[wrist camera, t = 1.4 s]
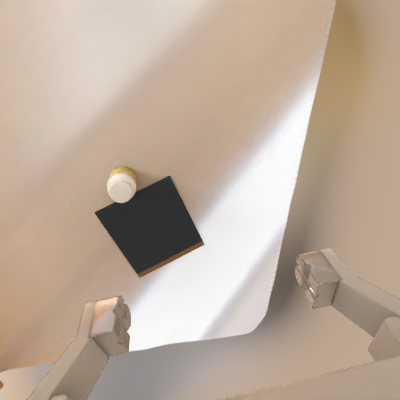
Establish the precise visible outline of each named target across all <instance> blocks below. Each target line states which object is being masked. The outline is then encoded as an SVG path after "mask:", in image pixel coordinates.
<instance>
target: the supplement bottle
mask: <svg viewBox="0 0 400 400" xmlns="http://www.w3.org/2000/svg"><path fill="white" fill-rule="evenodd" d="M106 188H107V192H108V194H109V195H110V197H111V198H112V200H114V201H115V202H118V203H124V202H127V201H128V200H130V199H131V198H132V197H133V196H134V194H135V192H136V176H135V173H134V172H133V171H132V170H131V169H130V168H128V167H125V166H120V167H117V168H115V169H114V170H113V171H112V172H111V173H110V176H109V179H108V182H107V187H106Z"/></svg>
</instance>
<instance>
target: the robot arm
mask: <svg viewBox="0 0 400 400" xmlns="http://www.w3.org/2000/svg"><path fill="white" fill-rule="evenodd" d="M296 261H297V263H298V265H297V266H296V267H295V274H296V278H297V280H298V283H299V284H300V286H301V287H302V288H304V289H305V290H306V297H307V299H308V301H309V302H310V304H311V306H312V308H313V309H315V308H320V307H325V306H330V305H332V307H334V308H335V309H336V310H338V311H339V312H341V313H342V314H343V315H344V316H346V317H347V318H349V319H350V320H351V321H353V322H354V323H355V324H356V325H358V326H359V327H360V328H362V329H363V330H365V331H366V332H367V333H368V334H370V335H371V336H372V337H374V339H373V341H372V342H371V344H370V346H369V349H368V351H369V352H370V354H371V355H372V357H373V359H374V360H375V362H372V363H368V364H363V365H359V366H355V367H351V368H347V369H343V370H339V371H335V372H330V373H326V374H322V375H318V376H314V377H309V378H306V379H301V380H297V381H293V382H289V383H285V384H280V385H276V386H272V387H268V388H264V389H260V390H255V391H252V392H247V393H243V394H239V395H235V396H231V397H226V398H223V399H218V400H400V298H398V297H396V296H394V295H393V294H391V293H389V292H387V291H385V290H383V289H381V288H379V287H377V286H375V285H373V284H372V283H370V282H368V281H366V280H364V279H362V278H360V277H354V276H353V274H352V273H351V272H350V271H349V269H348V268H347V267H346V266H345V264H344V263H343V262H342V261H341V260H340V258H339V257H338V256H337V255H336V253H335V252H334V251H333V250H332V249H331V248H328V249H324V250H320V251H314V252H310V253H306V254H302V255H298V256H297V259H296ZM130 326H131V315H130V310H129V307H128V306H127V305H126V304H124V299H123V297H122V296H116V297H111V298H106V299H102V300H96V301H92V302H87V303H86V304H85V306H84V308H83V312H82V316H81V320H80V324H79V328H78V332H77V336H76V340H75V341H74V342H71V344H70V345H69V346H68V348H67V349H66V350H65V351H64V353H63V354H62V355H61V356H60V358H59V359H58V360H57V362H56V363H55V364H54V365H53V367H52V368H51V369H50V371H49V372H48V373H47V374H46V376H45V377H44V378H43V379H42V381H41V382H40V383H39V385H38V386H37V387H36V388H35V390H34V391H33V392H32V394H31V395H30V396H29V398H28V399H27V400H87V398H88V396H89V394H90V392H91V391H92V389H93V387H94V385H95V384H96V382H97V380H98V378H99V376H100V374H101V373H102V370H103V369H104V367H105V365H106V363H107V362H108V360H109V357H110V356H114V355H118V354H122V353H125V352H128V351H129V339H130V336H129V334H128V332H127V330H128V329H129V327H130Z"/></svg>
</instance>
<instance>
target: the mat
mask: <svg viewBox="0 0 400 400" xmlns="http://www.w3.org/2000/svg"><path fill="white" fill-rule="evenodd" d="M95 214H96V215H97V217H98V218H99V220H100V221H101V223H102V224H103V225H104V227H105V228H106V230H107V231H108V233H109V234H110V236H111V237H112V238H113V240H114V241H115V243H116V244H117V246H118V247H119V248H120V250H121V251H122V253H123V254H124V256H125V257H126V259H127V260H128V261H129V263H130V264H131V266H132V267H133V269H134V270H135V271H136V273H137V274H138V276H139V277H142V276H144V275H146V274H148V273H150V272H152V271H154V270H156V269H158V268H160V267H162V266H164V265H166V264H167V263H169V262H171V261H173V260H175V259H177V258H179V257H181V256H183V255H185V254H187V253H189V252H191V251H193V250H195V249H197V248H199V247H201V246H203V245H204V243H203V241H202V239H201V237H200V235H199V233H198V231H197V229H196V227H195V225H194V223H193V221H192V219H191V217H190V215H189V213H188V211H187V209H186V207H185V205H184V203H183V201H182V199H181V198H180V196H179V194H178V192H177V190H176V188H175V186H174V184H173V182H172V180H171V178H170V176H168V177H166V178H164V179H162V180H160V181H158V182H156V183H154V184H152V185H150V186H148V187H146V188H144V189H142V190H140V191H138V192H136V193H135V194H134V196H133V197H132V198H131V199H130V200H128V201H127V202H124V203H118V202H115V203H113V204H111V205H109V206H107V207H105V208H103V209H101V210H99V211H97V212H95Z"/></svg>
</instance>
